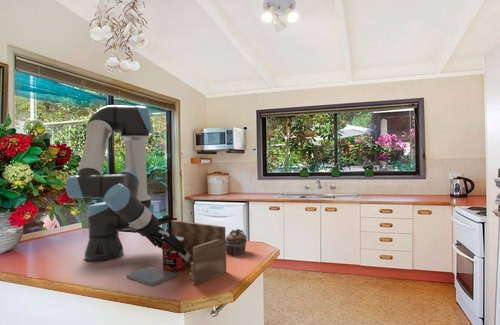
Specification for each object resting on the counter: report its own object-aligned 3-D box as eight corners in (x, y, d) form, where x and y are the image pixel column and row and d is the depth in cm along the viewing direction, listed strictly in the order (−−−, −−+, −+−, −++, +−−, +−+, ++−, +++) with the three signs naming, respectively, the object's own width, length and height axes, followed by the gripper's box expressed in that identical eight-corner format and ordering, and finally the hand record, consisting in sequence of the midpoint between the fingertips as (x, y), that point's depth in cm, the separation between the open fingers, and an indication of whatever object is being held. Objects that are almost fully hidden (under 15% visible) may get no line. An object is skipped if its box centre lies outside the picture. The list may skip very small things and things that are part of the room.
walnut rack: (144, 270, 114) (143, 226, 114) (175, 259, 126) (174, 220, 126) (196, 285, 98) (195, 235, 98) (226, 271, 110) (225, 226, 110)
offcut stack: (189, 278, 105) (189, 263, 105) (207, 270, 112) (207, 256, 112) (198, 280, 102) (197, 265, 102) (216, 272, 110) (216, 258, 110)
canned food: (158, 270, 114) (157, 240, 114) (174, 263, 121) (174, 235, 121) (172, 273, 110) (172, 242, 110) (189, 267, 116) (188, 237, 116)
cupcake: (238, 248, 141) (237, 226, 141) (251, 253, 133) (250, 229, 133) (220, 252, 135) (219, 229, 135) (232, 257, 127) (231, 233, 127)
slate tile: (126, 277, 107) (126, 274, 107) (150, 269, 115) (150, 266, 115) (152, 286, 99) (151, 282, 99) (176, 276, 107) (176, 273, 107)
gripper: (119, 227, 109) (158, 260, 122) (156, 233, 97) (195, 270, 110) (132, 210, 113) (168, 244, 126) (169, 214, 101) (205, 251, 114)
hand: (180, 256), depth 118 cm, fingers closed on canned food, 8 cm apart
